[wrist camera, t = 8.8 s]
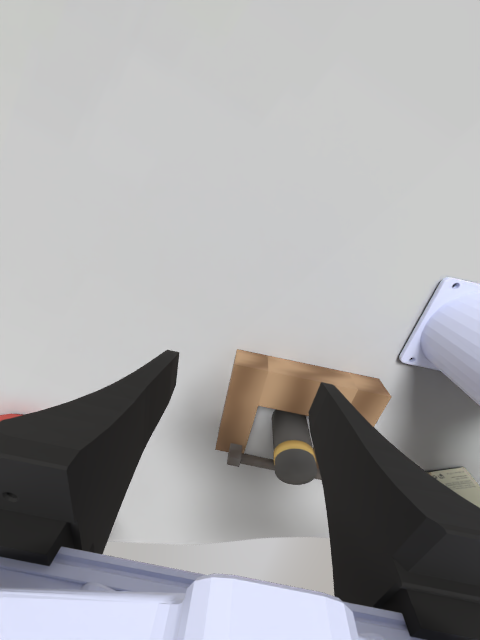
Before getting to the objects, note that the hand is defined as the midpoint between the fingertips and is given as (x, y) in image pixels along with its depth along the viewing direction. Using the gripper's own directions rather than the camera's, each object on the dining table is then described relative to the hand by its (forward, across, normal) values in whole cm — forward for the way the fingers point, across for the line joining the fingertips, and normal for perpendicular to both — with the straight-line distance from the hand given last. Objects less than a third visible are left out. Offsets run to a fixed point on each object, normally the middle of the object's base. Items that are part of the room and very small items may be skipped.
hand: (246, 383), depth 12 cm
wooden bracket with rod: (+10, -6, +10) cm, 16 cm away
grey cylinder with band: (+10, -7, +12) cm, 17 cm away
